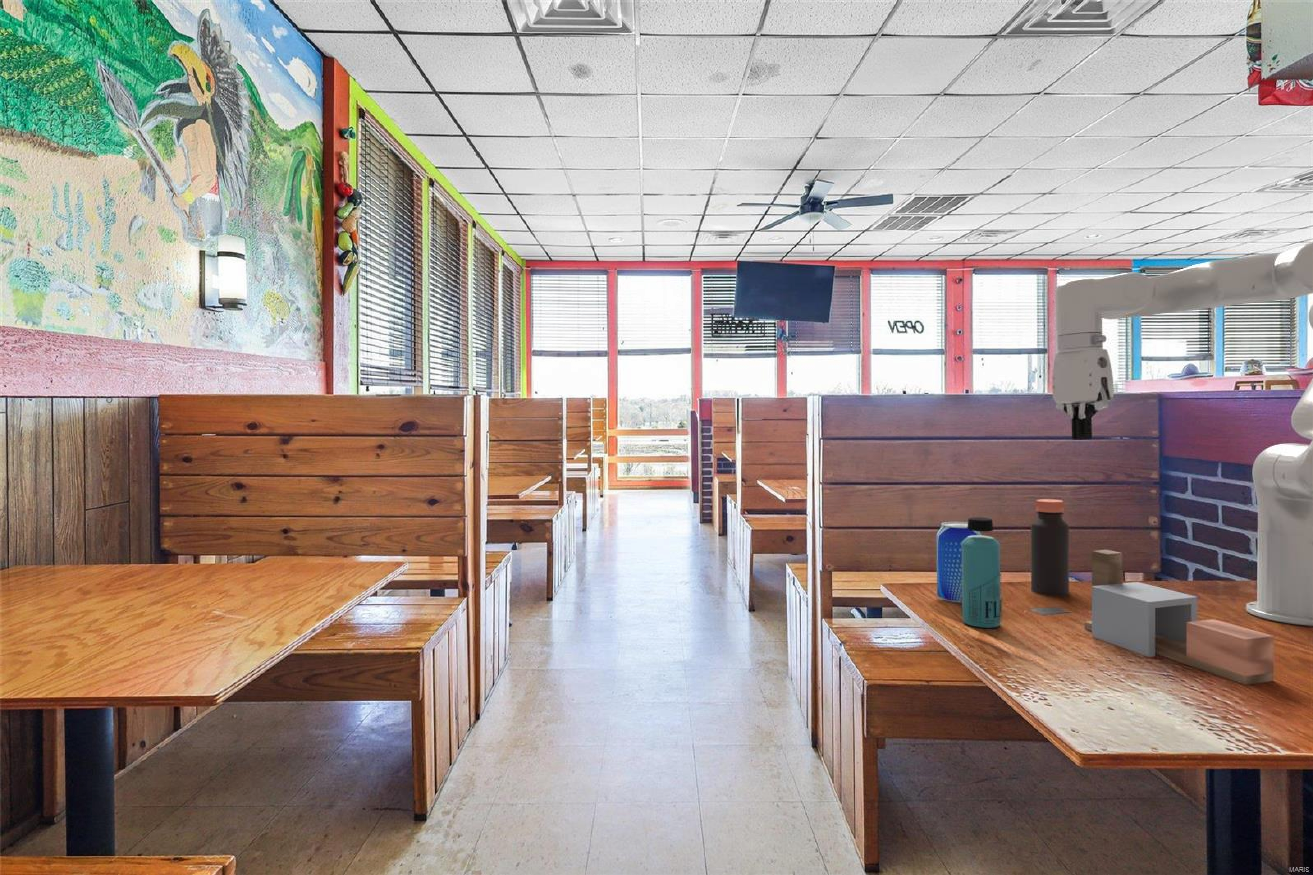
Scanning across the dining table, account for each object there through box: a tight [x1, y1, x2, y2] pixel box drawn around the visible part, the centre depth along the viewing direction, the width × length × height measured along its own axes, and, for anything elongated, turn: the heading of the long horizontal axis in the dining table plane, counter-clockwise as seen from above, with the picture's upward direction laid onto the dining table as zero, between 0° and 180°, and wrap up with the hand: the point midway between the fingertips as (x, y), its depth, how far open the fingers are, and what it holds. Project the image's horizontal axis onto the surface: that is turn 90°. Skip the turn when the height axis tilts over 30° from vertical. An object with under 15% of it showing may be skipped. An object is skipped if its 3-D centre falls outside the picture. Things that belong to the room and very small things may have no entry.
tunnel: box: [1091, 581, 1199, 658], centre depth 109 cm, size 9×10×8 cm
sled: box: [1084, 549, 1275, 686], centre depth 105 cm, size 5×26×13 cm, turn 14°
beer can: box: [936, 521, 983, 604], centre depth 138 cm, size 8×8×16 cm
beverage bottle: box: [960, 516, 1003, 629], centre depth 120 cm, size 6×7×20 cm
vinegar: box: [1030, 498, 1070, 597], centre depth 141 cm, size 7×7×20 cm
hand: (1082, 439), depth 132 cm, fingers closed
